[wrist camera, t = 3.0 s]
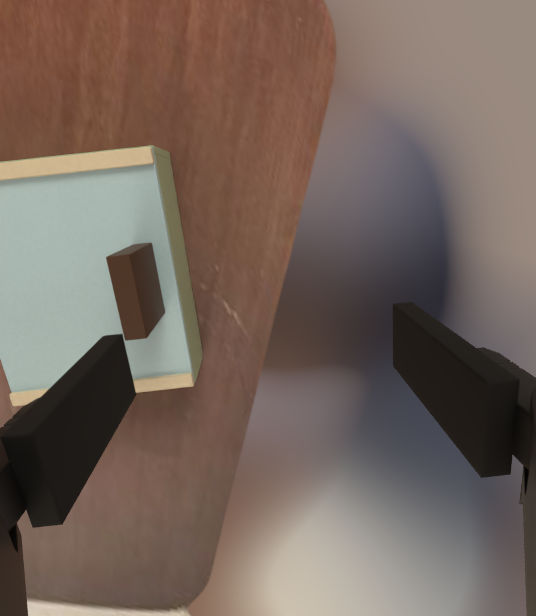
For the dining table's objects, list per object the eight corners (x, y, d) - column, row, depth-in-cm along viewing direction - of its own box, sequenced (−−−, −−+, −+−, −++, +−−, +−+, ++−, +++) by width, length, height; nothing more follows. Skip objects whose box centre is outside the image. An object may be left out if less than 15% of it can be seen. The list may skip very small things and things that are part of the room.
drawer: (153, 147, 30) (126, 136, 23) (195, 381, 36) (182, 422, 29) (-58, 170, 30) (-142, 165, 23) (19, 400, 36) (-32, 446, 29)
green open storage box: (169, 152, 35) (153, 145, 30) (203, 355, 42) (195, 382, 36) (-8, 171, 35) (-58, 167, 30) (52, 372, 41) (20, 402, 36)
